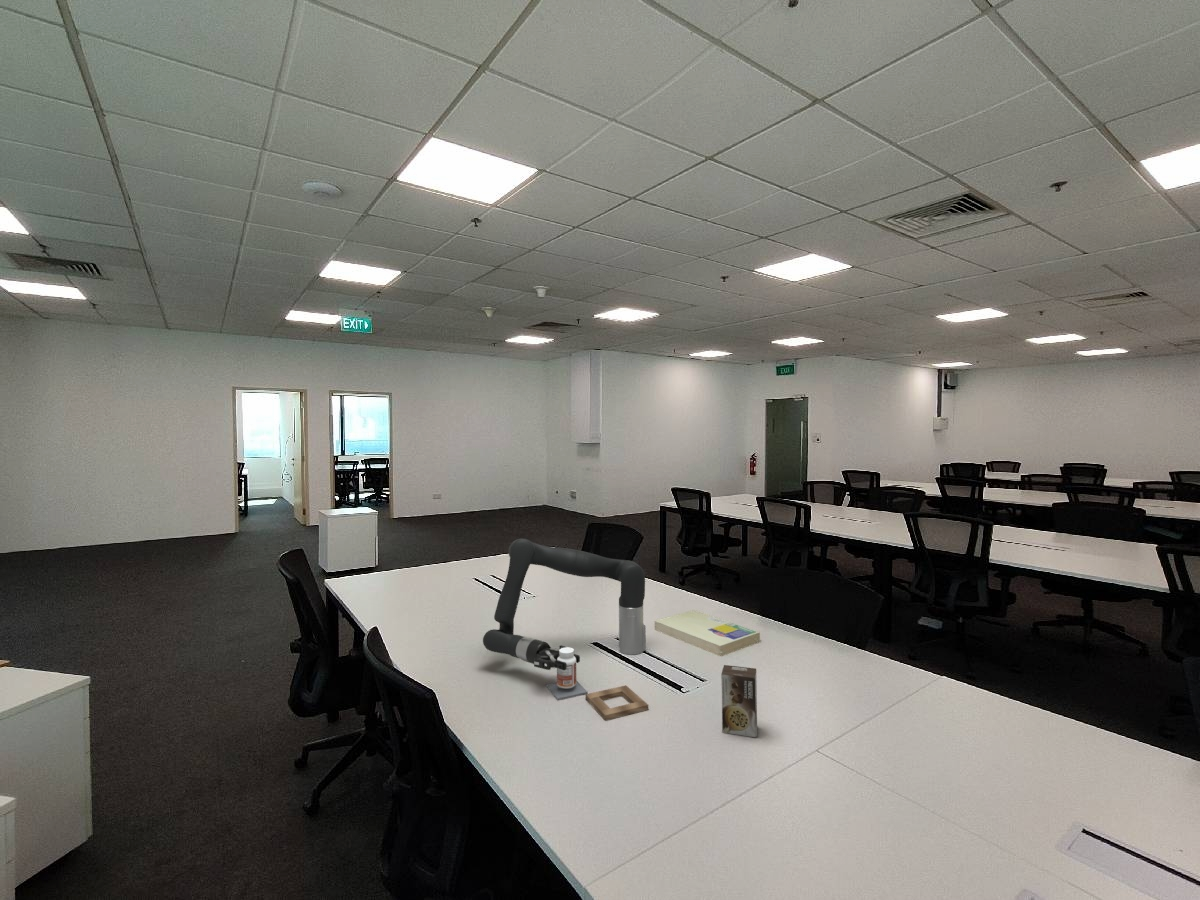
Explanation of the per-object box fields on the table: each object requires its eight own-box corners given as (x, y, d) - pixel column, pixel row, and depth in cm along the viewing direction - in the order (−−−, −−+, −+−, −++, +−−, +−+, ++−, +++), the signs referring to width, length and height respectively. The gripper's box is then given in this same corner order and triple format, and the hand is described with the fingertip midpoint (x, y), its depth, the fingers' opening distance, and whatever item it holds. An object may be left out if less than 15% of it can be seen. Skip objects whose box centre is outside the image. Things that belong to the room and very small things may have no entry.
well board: (626, 690, 169) (626, 685, 169) (648, 709, 156) (648, 704, 156) (585, 699, 163) (585, 694, 163) (605, 720, 150) (605, 715, 150)
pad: (575, 680, 175) (575, 679, 175) (587, 693, 166) (587, 691, 166) (546, 686, 171) (546, 685, 171) (557, 700, 162) (557, 698, 162)
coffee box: (757, 726, 147) (757, 668, 146) (756, 738, 140) (756, 677, 140) (723, 720, 150) (723, 663, 149) (721, 732, 143) (721, 673, 143)
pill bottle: (567, 678, 173) (567, 644, 173) (580, 684, 169) (580, 649, 169) (552, 684, 169) (552, 650, 168) (566, 691, 164) (566, 655, 164)
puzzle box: (693, 619, 238) (653, 630, 224) (693, 609, 238) (653, 619, 224) (761, 644, 209) (719, 658, 194) (761, 632, 209) (719, 645, 194)
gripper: (517, 646, 171) (558, 658, 161) (547, 633, 183) (586, 643, 173) (517, 669, 171) (558, 683, 161) (547, 654, 183) (586, 666, 173)
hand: (572, 662), depth 167 cm, fingers closed on pill bottle, 6 cm apart
